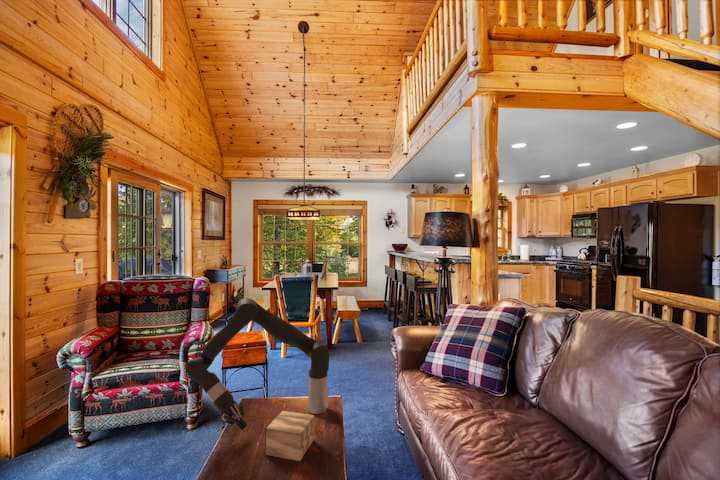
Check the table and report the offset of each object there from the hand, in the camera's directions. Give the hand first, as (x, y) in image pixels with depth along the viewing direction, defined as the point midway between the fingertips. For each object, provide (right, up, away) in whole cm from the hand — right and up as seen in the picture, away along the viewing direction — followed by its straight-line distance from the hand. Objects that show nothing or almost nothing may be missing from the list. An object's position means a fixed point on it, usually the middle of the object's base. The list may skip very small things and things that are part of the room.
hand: (244, 428), depth 142 cm
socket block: (+20, -5, -5) cm, 22 cm away
